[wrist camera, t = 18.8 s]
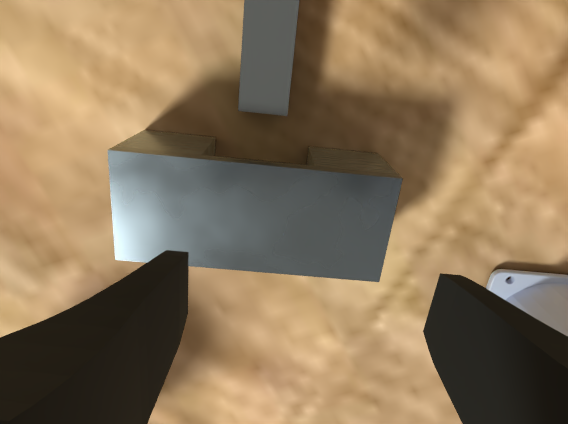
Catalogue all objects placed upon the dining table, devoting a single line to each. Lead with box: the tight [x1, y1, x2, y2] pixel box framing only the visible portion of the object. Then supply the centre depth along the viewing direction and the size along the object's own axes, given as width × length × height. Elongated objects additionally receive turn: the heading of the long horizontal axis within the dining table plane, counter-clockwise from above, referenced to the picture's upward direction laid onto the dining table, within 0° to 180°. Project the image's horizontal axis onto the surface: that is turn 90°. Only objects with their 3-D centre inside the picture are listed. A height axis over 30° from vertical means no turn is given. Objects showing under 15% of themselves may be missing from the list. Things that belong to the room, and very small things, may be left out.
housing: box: [108, 130, 403, 282], centre depth 19 cm, size 12×5×4 cm, turn 84°
